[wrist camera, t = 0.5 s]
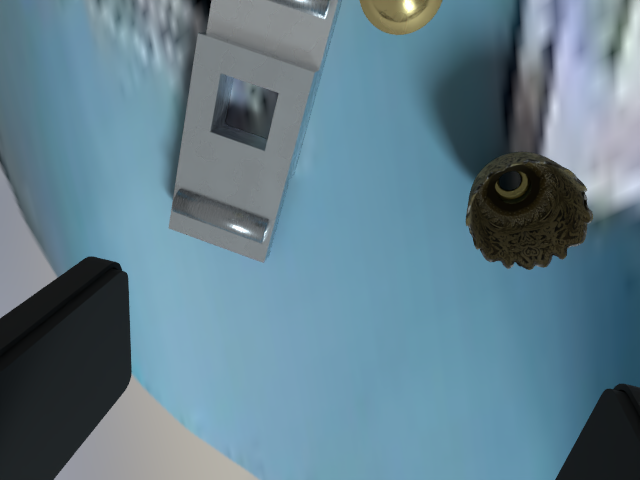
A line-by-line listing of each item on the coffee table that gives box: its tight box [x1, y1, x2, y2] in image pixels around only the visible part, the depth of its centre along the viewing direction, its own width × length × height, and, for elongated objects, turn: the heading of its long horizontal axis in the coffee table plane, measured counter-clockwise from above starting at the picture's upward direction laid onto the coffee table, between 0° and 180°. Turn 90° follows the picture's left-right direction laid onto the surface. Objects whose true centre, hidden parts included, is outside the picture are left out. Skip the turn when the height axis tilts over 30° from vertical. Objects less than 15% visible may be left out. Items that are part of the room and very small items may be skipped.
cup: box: [466, 152, 593, 270], centre depth 34 cm, size 8×7×8 cm
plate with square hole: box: [169, 0, 342, 263], centre depth 37 cm, size 24×9×4 cm, turn 164°
